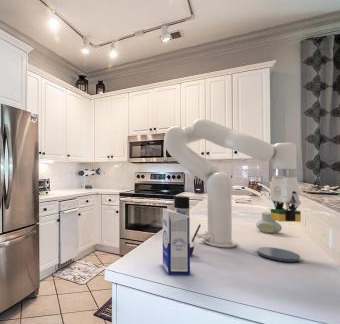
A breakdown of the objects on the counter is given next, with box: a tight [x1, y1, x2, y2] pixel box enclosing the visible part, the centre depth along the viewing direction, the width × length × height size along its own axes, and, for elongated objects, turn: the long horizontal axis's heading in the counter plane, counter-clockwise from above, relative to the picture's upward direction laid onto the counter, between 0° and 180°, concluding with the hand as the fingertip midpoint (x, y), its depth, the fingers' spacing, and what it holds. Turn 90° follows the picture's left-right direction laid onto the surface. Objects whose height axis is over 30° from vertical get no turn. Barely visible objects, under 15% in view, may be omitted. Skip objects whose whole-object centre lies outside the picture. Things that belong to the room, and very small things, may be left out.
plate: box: [256, 247, 301, 263], centre depth 94 cm, size 13×13×2 cm
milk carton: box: [162, 207, 191, 276], centre depth 82 cm, size 7×7×20 cm
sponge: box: [270, 208, 302, 223], centre depth 99 cm, size 8×5×4 cm, turn 87°
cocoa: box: [190, 223, 201, 256], centre depth 96 cm, size 10×6×12 cm, turn 49°
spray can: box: [173, 195, 190, 217], centre depth 116 cm, size 7×7×20 cm
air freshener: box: [255, 211, 283, 234], centre depth 131 cm, size 11×8×10 cm
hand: (285, 218), depth 99 cm, fingers closed on sponge, 5 cm apart
